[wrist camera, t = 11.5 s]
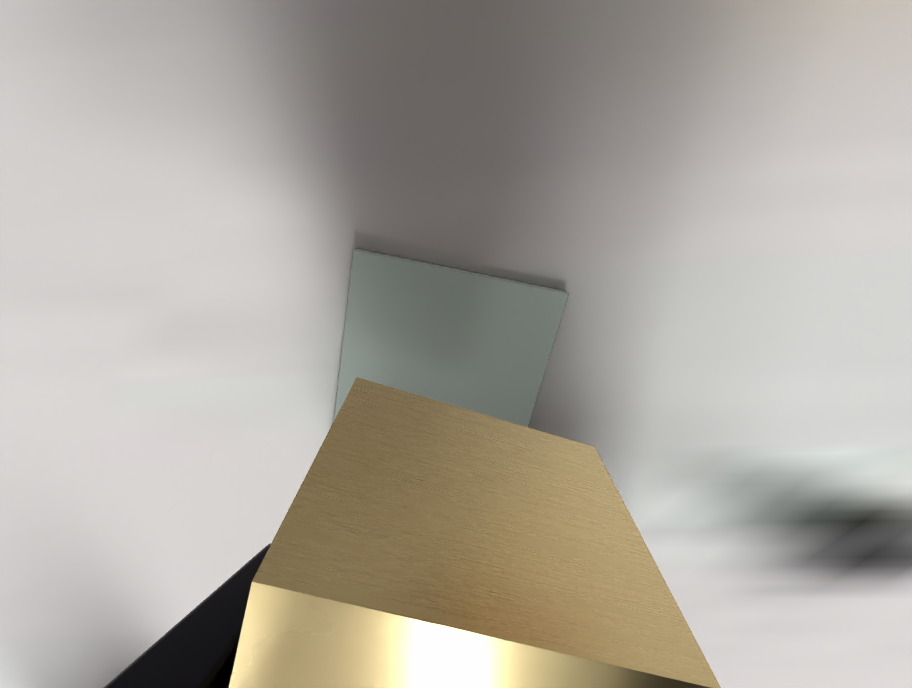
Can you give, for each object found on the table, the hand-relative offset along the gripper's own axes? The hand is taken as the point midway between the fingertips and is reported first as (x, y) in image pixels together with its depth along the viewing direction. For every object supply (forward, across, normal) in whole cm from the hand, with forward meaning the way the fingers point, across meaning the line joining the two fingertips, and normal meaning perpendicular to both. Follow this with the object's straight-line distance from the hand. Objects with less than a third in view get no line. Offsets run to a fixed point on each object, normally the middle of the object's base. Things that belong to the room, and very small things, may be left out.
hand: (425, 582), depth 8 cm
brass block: (+1, 0, 0) cm, 1 cm away
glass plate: (+8, 0, 0) cm, 8 cm away
